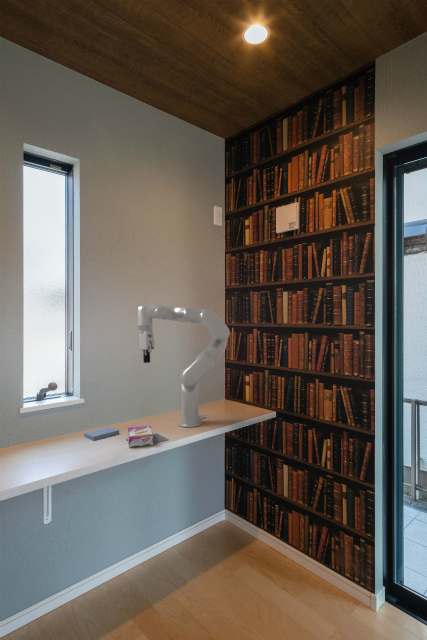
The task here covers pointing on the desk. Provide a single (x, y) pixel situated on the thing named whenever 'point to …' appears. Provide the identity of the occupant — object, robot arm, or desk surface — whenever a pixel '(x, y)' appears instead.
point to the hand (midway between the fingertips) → (146, 362)
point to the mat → (156, 438)
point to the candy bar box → (140, 436)
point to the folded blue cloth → (101, 433)
